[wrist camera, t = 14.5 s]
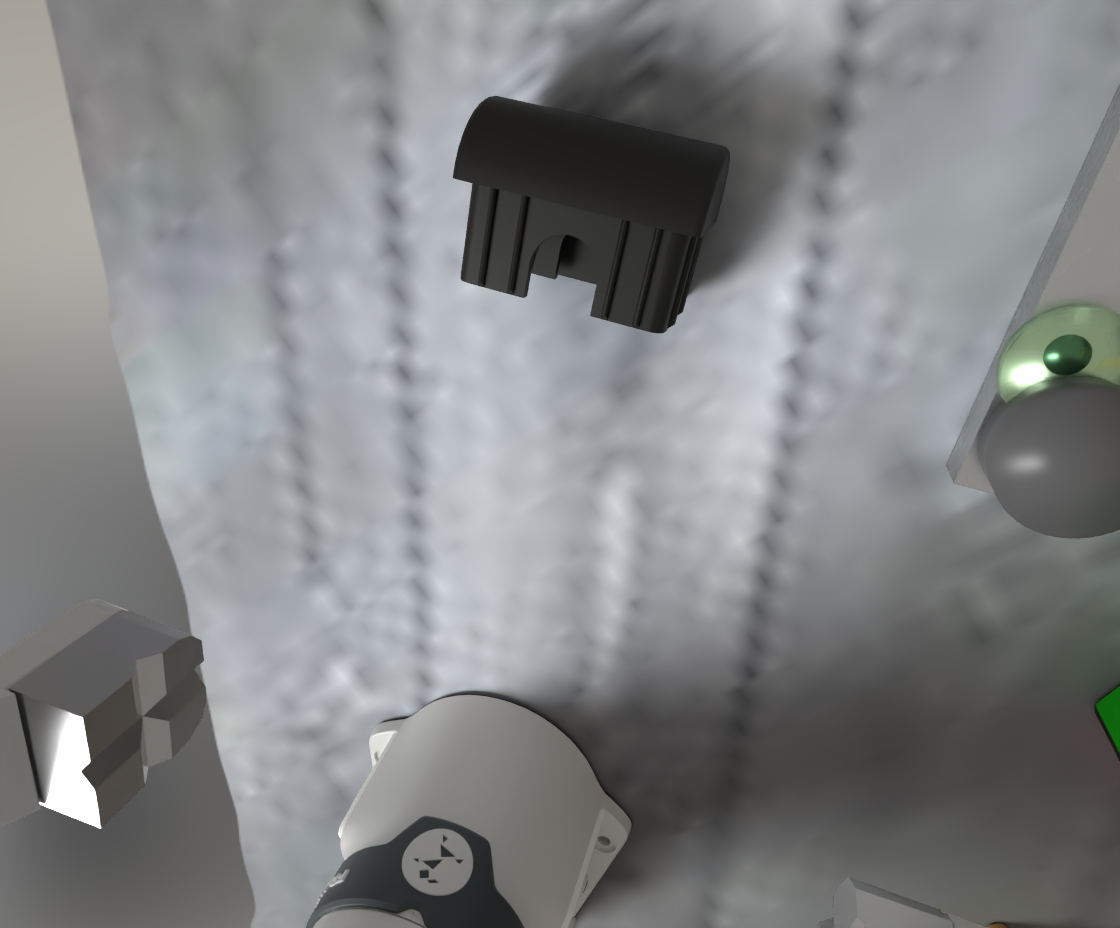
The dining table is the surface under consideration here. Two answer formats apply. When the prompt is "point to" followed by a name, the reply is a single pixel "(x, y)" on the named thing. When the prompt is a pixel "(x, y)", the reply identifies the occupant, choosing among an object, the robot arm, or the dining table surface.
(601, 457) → the dining table surface
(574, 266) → the end cap
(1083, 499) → the knob
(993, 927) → the horse figurine
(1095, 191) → the leveling plate
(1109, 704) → the puzzle cube
